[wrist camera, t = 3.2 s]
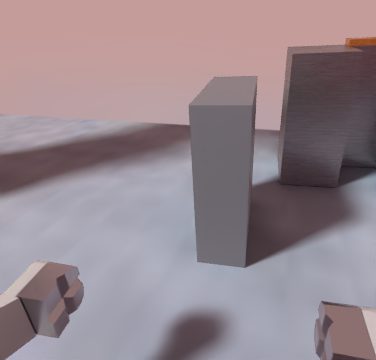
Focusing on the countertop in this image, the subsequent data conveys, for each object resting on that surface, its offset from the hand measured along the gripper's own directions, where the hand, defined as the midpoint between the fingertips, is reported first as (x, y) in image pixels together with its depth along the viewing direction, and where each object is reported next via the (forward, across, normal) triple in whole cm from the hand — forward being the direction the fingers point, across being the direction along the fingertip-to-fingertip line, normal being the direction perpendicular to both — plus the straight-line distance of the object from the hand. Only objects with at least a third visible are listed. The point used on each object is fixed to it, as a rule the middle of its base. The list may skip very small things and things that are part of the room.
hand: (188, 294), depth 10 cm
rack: (+21, -11, +6) cm, 25 cm away
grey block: (+11, 0, +6) cm, 12 cm away
